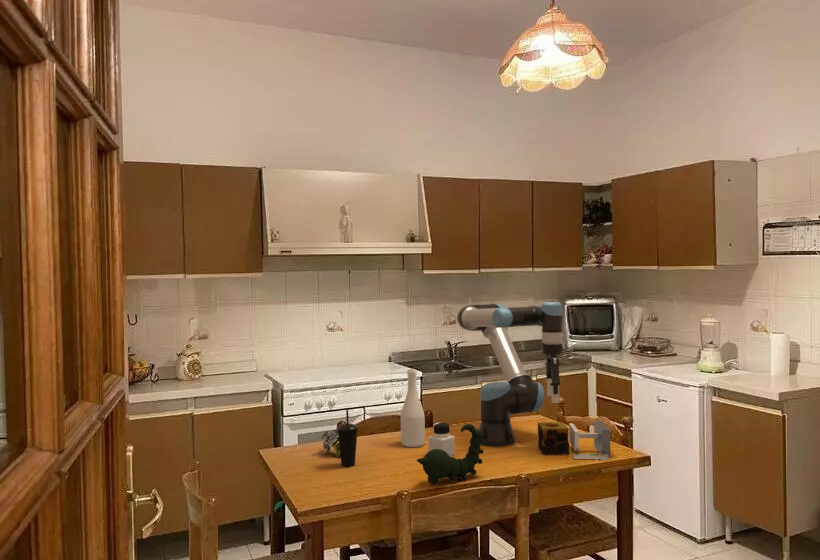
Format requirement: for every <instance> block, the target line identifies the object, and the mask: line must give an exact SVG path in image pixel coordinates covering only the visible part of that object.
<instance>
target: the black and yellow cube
mask: <svg viewBox="0 0 820 560" xmlns="http://www.w3.org/2000/svg"><path fill="white" fill-rule="evenodd" d="M537 434H538V435H537V437H538V440H537V447H539V448H538V449H539V451H540V452H541V454H542V455H544V456H555V455H558V454H559V455H563V454H569V455H570V441H569V427H568V426H567V425H566V424H565V423H564V422H562V421H554V422H553V421H547V422H544V421H542V422H537ZM549 454H550V455H549ZM553 454H555V455H553Z"/></svg>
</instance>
